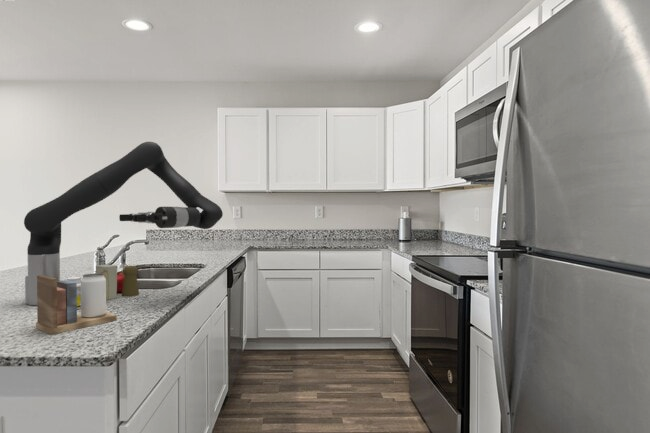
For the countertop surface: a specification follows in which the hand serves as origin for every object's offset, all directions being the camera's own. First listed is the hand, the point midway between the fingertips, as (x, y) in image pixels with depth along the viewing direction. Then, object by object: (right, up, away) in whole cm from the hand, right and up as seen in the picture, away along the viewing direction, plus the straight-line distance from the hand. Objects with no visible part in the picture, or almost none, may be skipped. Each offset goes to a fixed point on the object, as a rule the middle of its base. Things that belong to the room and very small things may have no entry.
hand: (126, 218), depth 130 cm
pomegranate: (-19, -30, +30) cm, 46 cm away
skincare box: (-16, -30, +18) cm, 39 cm away
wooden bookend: (-7, -30, -14) cm, 34 cm away
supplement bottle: (-19, -30, +3) cm, 36 cm away
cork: (-11, -30, +25) cm, 40 cm away
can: (-5, -29, -11) cm, 31 cm away
